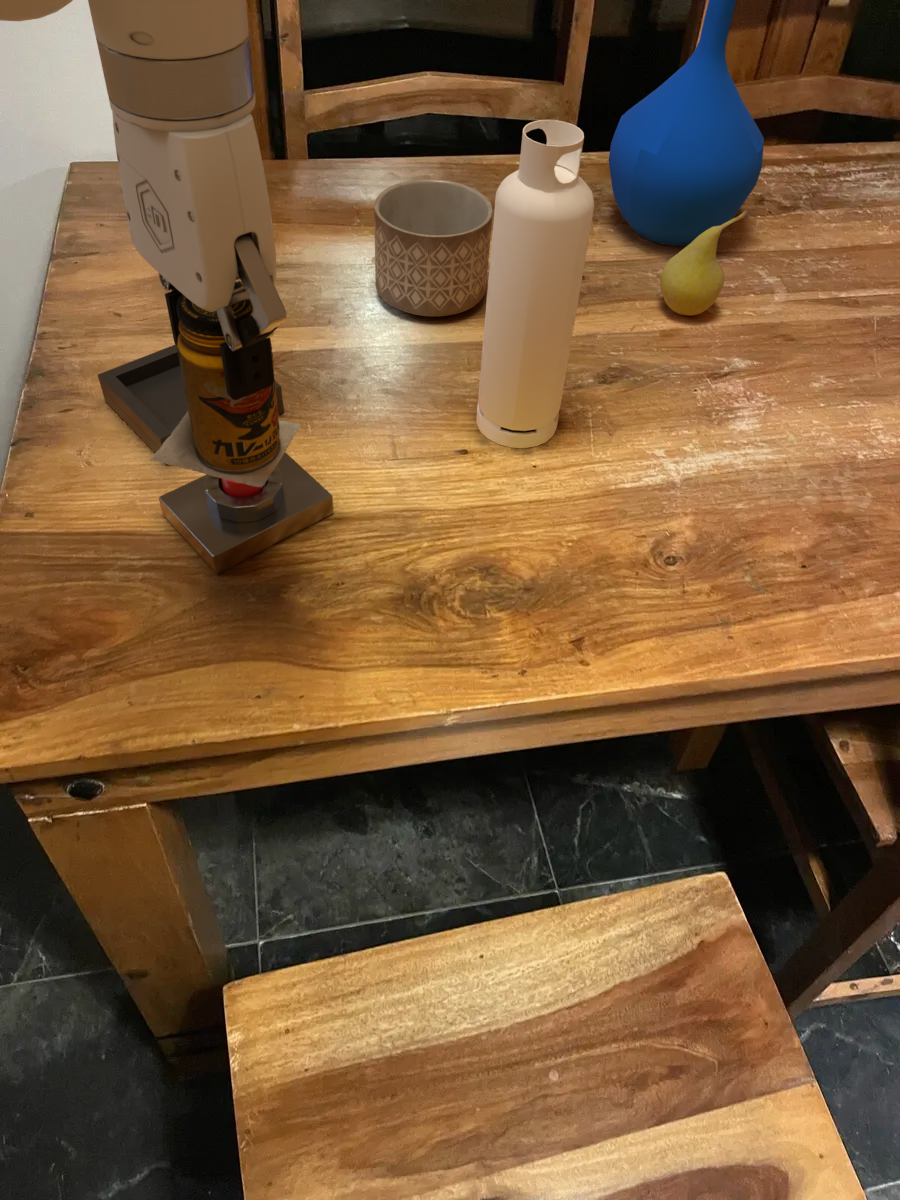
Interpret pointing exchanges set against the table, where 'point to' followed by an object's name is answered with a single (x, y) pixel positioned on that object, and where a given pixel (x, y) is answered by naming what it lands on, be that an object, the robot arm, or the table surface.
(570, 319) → the bottle
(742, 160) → the vase
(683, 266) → the fruit
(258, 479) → the condiment
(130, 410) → the tray
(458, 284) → the planter
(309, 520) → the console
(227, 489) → the button
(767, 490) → the table surface
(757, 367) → the table surface
